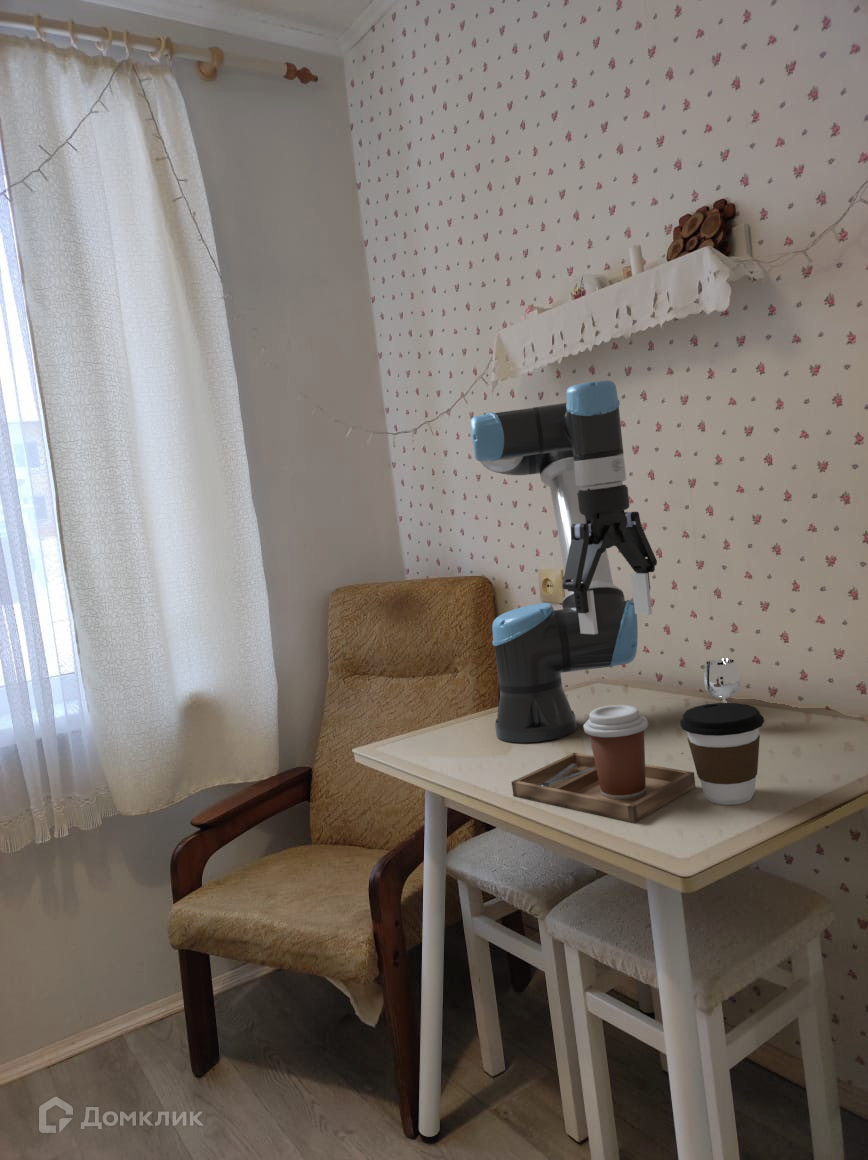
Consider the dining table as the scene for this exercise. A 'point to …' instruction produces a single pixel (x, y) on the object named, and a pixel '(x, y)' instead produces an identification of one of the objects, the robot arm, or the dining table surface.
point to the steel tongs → (564, 776)
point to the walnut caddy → (587, 792)
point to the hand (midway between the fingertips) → (617, 623)
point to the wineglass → (721, 678)
